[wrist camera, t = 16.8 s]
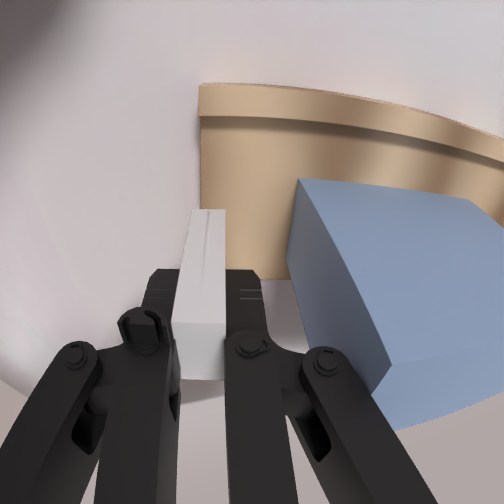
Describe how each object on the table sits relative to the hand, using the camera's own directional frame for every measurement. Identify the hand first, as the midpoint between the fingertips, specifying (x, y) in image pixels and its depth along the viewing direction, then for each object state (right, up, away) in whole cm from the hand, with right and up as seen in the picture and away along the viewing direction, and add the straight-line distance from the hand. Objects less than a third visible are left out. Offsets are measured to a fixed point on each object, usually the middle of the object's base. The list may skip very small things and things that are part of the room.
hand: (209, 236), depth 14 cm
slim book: (+9, +1, +2) cm, 9 cm away
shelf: (+11, +3, +2) cm, 12 cm away
